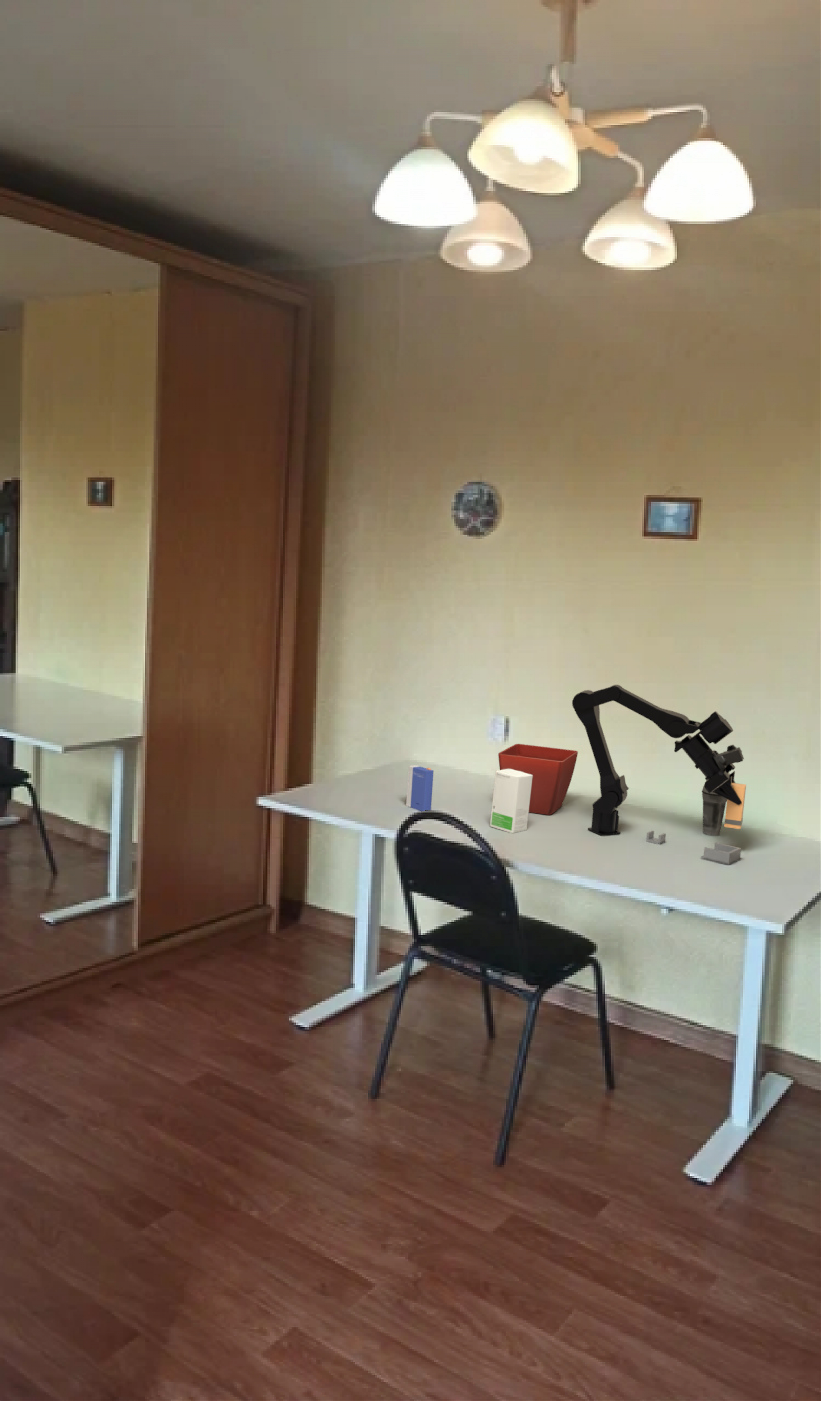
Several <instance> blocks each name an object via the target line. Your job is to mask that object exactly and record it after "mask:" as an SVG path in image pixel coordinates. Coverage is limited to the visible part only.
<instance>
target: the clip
mask: <svg viewBox="0 0 821 1401" xmlns="http://www.w3.org/2000/svg"><path fill="white" fill-rule="evenodd" d="M666 837H667V834H666V833H661V834H658V838H657V837H655V831H654V830H651V831H647V832H646V839H645V840H646V842H648V843H653V844H656V845H663V844H665V843H666Z"/></svg>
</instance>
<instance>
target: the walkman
mask: <svg viewBox="0 0 821 1401" xmlns="http://www.w3.org/2000/svg"><path fill="white" fill-rule="evenodd" d="M407 773H408V774H407V775H408V776H407V787H406V801H405V802H406V803H405V804H406V807H408V806H409V808H412V809H415V810H417V811H420V812H423V811H425V810H431V811H432V799H433V798H432V797H433V784H434V770H433V769H432V768H430V767H423V766H420V765H415V764H414V765H408V772H407Z"/></svg>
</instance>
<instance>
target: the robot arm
mask: <svg viewBox="0 0 821 1401" xmlns="http://www.w3.org/2000/svg"><path fill="white" fill-rule="evenodd" d="M571 701H572V702H571V706H572V708H573V709H574V712H575V714H576V716H577V718H578V719H579V721H580V722H581V724H582V725H583V726H584V730H585V731H586V735H587V738H588V742H589V745H590V748H591V751H592V754H593V758H594V761H595V764H596V767H597V771H598V774H599V783H600V784H599V788H600V797H599V798H598V799H596V801H594V803H592V816H591V818H592V819H591V826H590V827H587V830H588V831H589V832H592V833H595V834H597V835H599V836H610V835H620V834H621V832H620V831H618V830H619V821H620V819H619V818H620V816H619V810H618V809H617V808H618V807H620V805H622V803H623V802H625V800H626V799H627V798H628V790H629V789H630V788H629V787H628V785H627V784H626V776H625V775H624V774H623V775H621V776H620V775H619V774H618V772H617V771H616V769H615V766H614V763H613V760H612V756H611V753H610V751H609V750H610V749H609V747H608V744H607V740H606V736H605V734H604V731H603V728H602V724H601V720H600V719H601V718H600V716H601V715H600V711H601V709H600V705H604V704H606V703H611V702H615V703H617V704H619V705H621V706H623V707H625V708H627V709H628V710H631V711H632V712H634V713H636V714H638V715H640V716H642V717H644V718H646V719H647V720H649V721H651V722H652V723H654V724H655V725H656V726H657V727H658V728H659V729H660V730H661V731H663V733H665V734H666V735H667V736H669V737H670V738H673V739H679V738H682V737H684V736H685V735H687V736H685V737H684V738H682V739H681V740H675V741H674V753H678V752H679V751H680V750H681V749H682V750H683V752H684V753H685V754H686V755H687V756H688V758H689V759H691V761H692V762H693V764H694V768H696V770H697V769H699V771H700V772H701V773H702V774H703V775H704V777H705V778H704V779H705V782H704V784H705V787H704V788H705V789H706V790H707V791H708V792H709V793H710V792H713V793H716V794H718V795H720V796H722V797H724V798H726V799H728V800H730V801H732V802H734V803H736V804H737V805H740V804H741V803H742V802H741V800H740V798H739V796H738V795H737V793H736V791H735V790H734V788H733V786H732V783H736V781H735V774H736V771H735V769H736V766H735V765H734V764H735V763H736V764H738V763H741V762H743V761H744V760H745V758H744V754H743V750H741V747H739V746H738V747H737V746H735V745H734V744H730V745H728V746H726V750H725V751H723V752H720V753H719V752H718V751H717V750H715V749H712V748H711V747H710V745H709V744H712V743H713V744H714V745H717V744H718V743H719V742H721V741H722V740H724V739H725V738H726V737H727V736H728V735H730V734H731V733H732V732H733V731H734V729H733V727H732V726H731V724H730V723H729V721H728V720H727V719H726V718H724V717H723V716H722V715H720V714H719V713H718V711H716V710H715V711H714V712H712V713H711V714H710V716H708V717H707V718H706V719H704V720H703V721H702V722H699V721H696V720H691V719H690V718H689V717H688V716H687V715H685V714H683V713H680V712H676V711H673V710H669V709H665V708H662V707H660V706H658V705H655V704H654V703H652V702H651V701H648V700H646V699H645V698H643V697H641V696H639V695H637V694H635V693H633V692H631V691H629V690H627V689H625V687H623V686H621V685H620V684H613V685H611V686H609V687H605V688H601V689H598V690H595V691H592V690H591V689H588V690H587V689H586V690H582V691H580V692H579V693H577V694H575V695H574V696H573V698H572V700H571ZM698 730H699V731H698ZM697 731H698V732H697ZM696 732H697V733H696ZM694 733H696V734H694ZM690 734H691V735H690ZM692 734H694V735H693V736H692ZM731 771H732V772H731ZM730 772H731V773H730Z"/></svg>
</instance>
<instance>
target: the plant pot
mask: <svg viewBox="0 0 821 1401" xmlns="http://www.w3.org/2000/svg"><path fill="white" fill-rule="evenodd" d="M578 753H579V751H578V750H572V749H564V748H557V747H550V746H549V747H548V746H541V745H540V746H539V745H532V744H524V743H516V744H513V745H512V746H509V747H507V748H506V749H504V750H502V751H500V752H498V755H497V756H498V764H499V766H498V767H499V770H504V769H513V770H517V771H521V772H524V773H527V774H531V775H533V777H532V786H531V794H530V803H529V812H528V813H531V814H532V813H533V814H540V815H548V816H550V815H552V814H554V813H555V812H557V811H558V810H559V809H560V808H562V806H563V803H564V801H565V799H566V796H567V794H568V790H569V788H570V784H571V781H572V778H573V775H574V771H575V767H576V764H577V763H576V762H577V758H578Z"/></svg>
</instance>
